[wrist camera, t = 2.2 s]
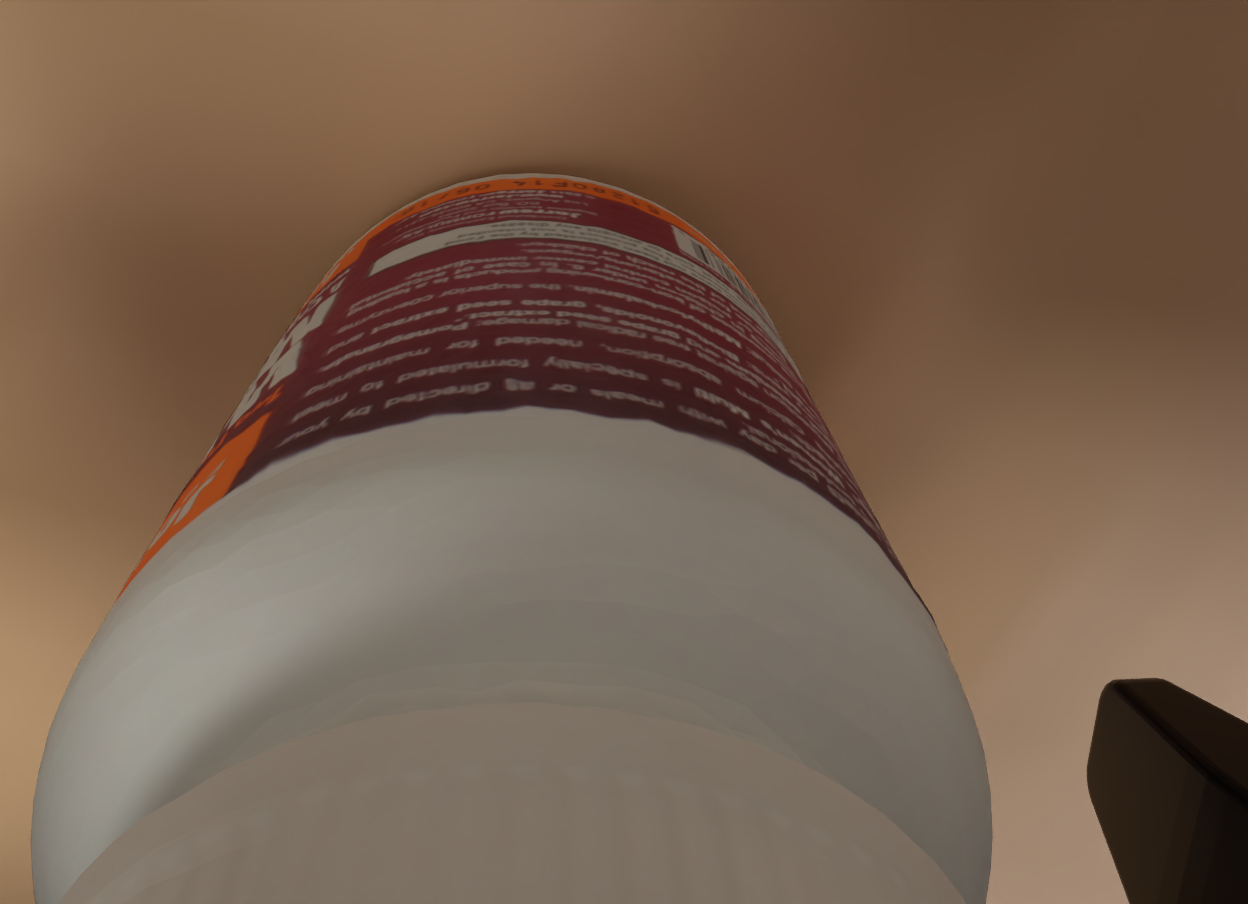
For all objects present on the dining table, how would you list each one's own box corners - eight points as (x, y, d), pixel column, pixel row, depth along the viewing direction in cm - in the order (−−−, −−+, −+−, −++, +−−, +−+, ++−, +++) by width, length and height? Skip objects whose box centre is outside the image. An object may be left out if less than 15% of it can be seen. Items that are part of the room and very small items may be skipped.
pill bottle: (269, 158, 14) (-659, 926, 3) (803, 166, 14) (1508, 884, 4) (314, 620, 16) (-126, 1878, 6) (765, 616, 16) (1113, 1800, 6)
